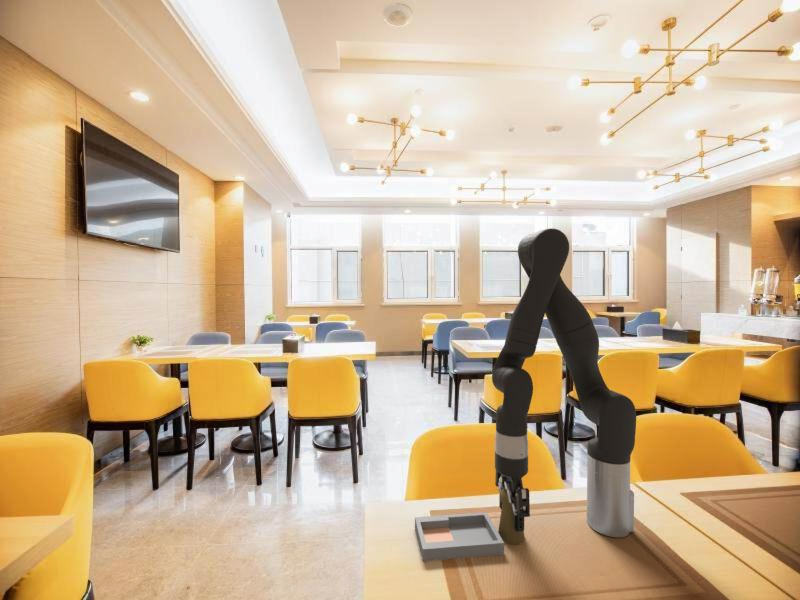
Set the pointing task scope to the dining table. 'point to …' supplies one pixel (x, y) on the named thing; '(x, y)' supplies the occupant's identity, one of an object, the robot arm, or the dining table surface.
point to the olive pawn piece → (508, 522)
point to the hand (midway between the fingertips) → (511, 518)
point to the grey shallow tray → (457, 536)
